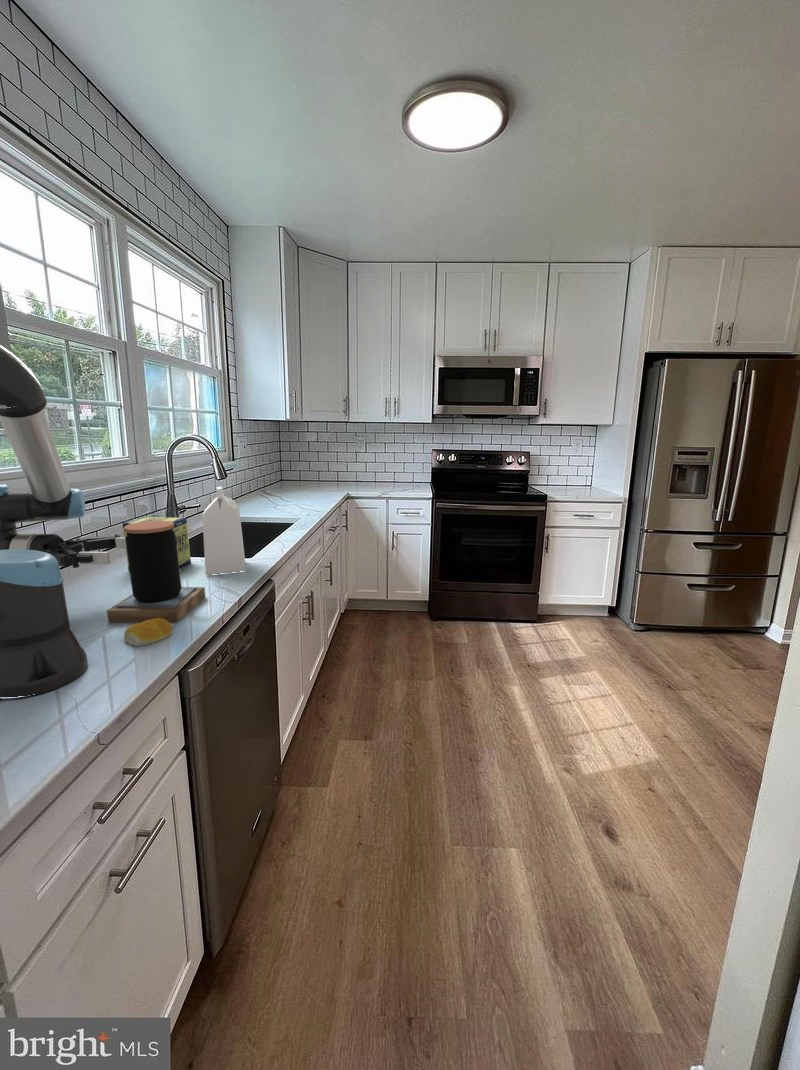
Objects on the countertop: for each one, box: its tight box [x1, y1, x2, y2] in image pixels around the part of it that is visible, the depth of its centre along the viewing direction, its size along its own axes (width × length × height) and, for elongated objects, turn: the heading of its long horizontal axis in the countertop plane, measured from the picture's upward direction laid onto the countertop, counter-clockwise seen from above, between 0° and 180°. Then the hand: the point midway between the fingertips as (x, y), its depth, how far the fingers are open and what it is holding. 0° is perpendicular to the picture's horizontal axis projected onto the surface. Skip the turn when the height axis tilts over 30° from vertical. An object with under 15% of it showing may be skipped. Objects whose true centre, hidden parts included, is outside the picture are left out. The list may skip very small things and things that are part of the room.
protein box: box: [122, 516, 192, 572], centre depth 149 cm, size 10×16×16 cm
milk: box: [202, 486, 246, 576], centre depth 146 cm, size 12×12×26 cm
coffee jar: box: [124, 521, 182, 603], centre depth 113 cm, size 11×11×18 cm
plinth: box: [106, 586, 206, 624], centre depth 116 cm, size 16×16×4 cm
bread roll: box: [123, 618, 173, 647], centre depth 101 cm, size 8×9×4 cm
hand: (126, 550), depth 113 cm, fingers open, 13 cm apart
